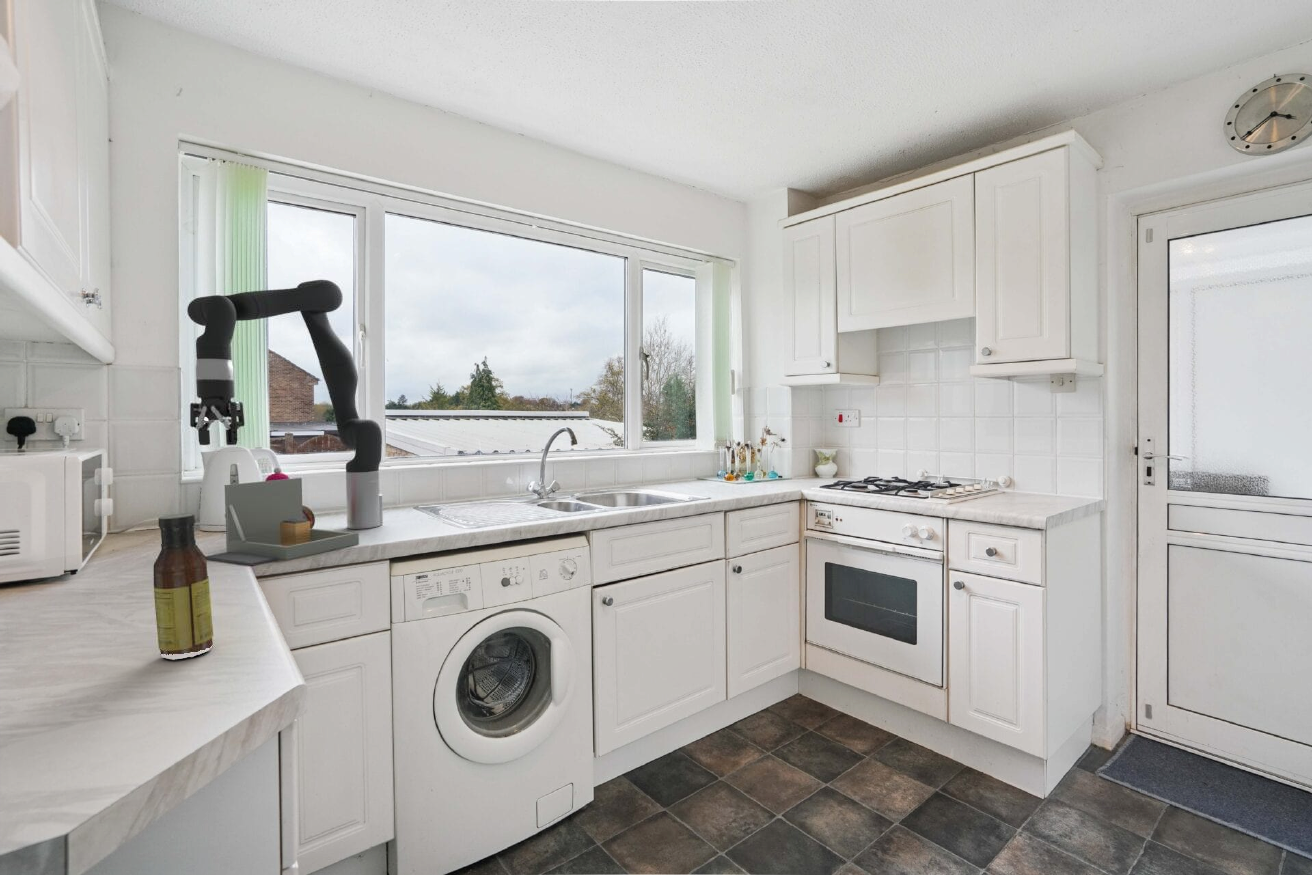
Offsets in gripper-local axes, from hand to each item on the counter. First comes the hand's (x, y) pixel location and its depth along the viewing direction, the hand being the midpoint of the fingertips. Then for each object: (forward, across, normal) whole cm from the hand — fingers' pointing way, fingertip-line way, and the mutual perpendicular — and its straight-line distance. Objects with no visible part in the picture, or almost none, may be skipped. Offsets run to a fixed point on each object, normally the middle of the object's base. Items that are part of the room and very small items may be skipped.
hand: (218, 444), depth 152 cm
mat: (+27, -9, +3) cm, 29 cm away
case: (+27, -11, -11) cm, 32 cm away
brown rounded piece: (+28, +8, -27) cm, 40 cm away
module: (+28, -11, -11) cm, 32 cm away
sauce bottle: (+27, -57, +52) cm, 82 cm away
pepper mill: (+28, +4, -20) cm, 35 cm away
